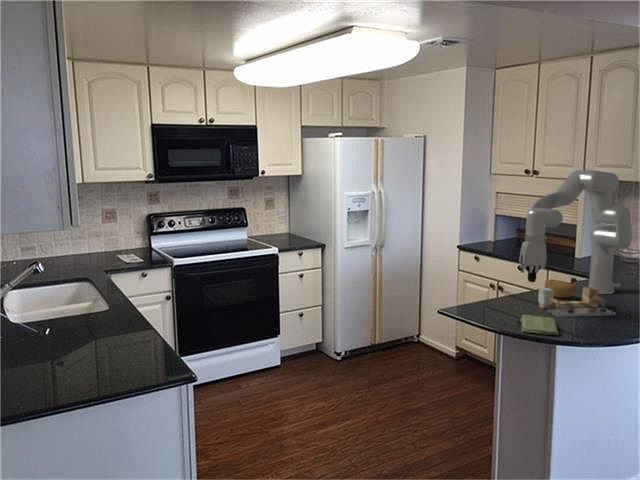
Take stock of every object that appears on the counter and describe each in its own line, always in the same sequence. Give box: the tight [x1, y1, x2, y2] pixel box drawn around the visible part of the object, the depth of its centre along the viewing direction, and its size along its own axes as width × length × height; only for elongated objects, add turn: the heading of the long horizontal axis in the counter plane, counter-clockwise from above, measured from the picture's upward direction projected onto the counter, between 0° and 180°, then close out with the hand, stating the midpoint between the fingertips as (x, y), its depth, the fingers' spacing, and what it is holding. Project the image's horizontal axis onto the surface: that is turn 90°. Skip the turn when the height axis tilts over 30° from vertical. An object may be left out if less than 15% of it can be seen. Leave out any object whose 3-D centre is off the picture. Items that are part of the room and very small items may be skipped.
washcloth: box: [519, 314, 560, 337], centre depth 202 cm, size 13×18×3 cm
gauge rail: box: [538, 286, 606, 309], centre depth 226 cm, size 25×12×8 cm, turn 95°
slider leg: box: [537, 287, 560, 309], centre depth 225 cm, size 4×12×6 cm, turn 5°
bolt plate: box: [546, 306, 617, 318], centre depth 221 cm, size 25×8×2 cm, turn 95°
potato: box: [544, 279, 578, 299], centre depth 245 cm, size 10×14×8 cm
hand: (531, 281), depth 227 cm, fingers closed
